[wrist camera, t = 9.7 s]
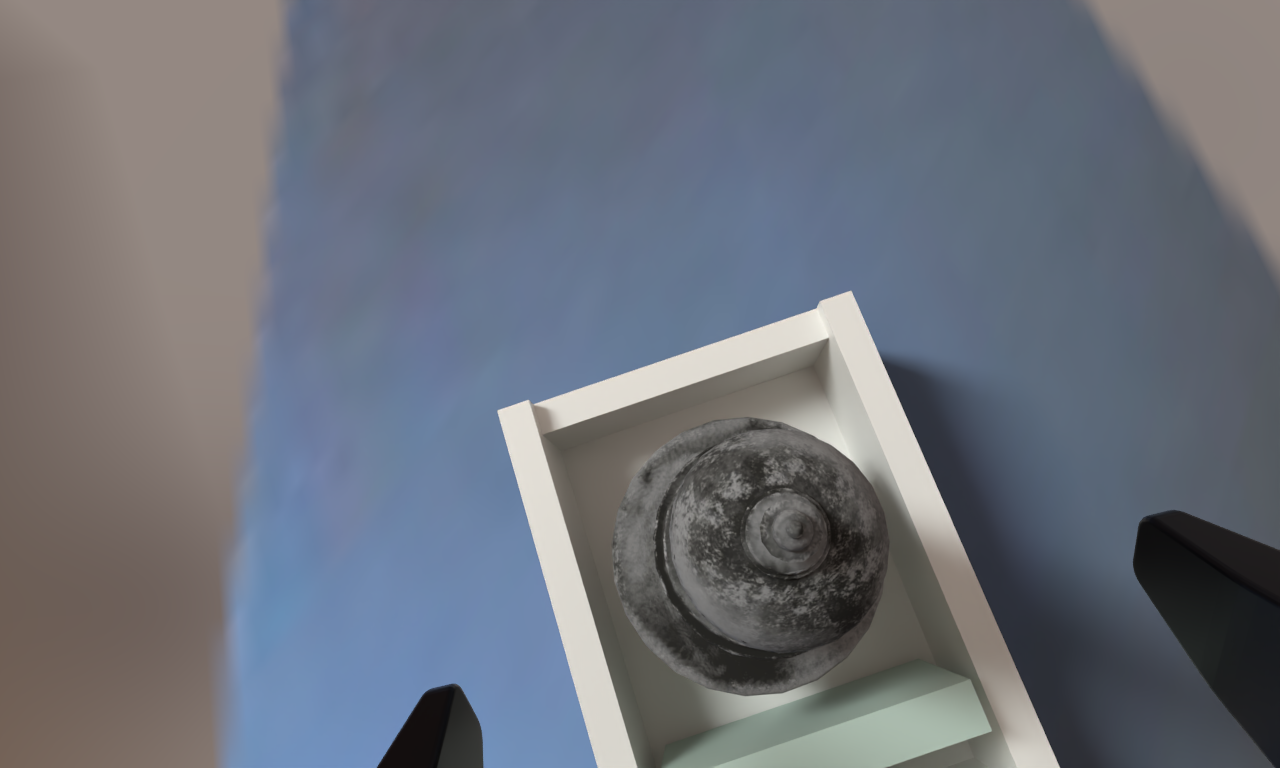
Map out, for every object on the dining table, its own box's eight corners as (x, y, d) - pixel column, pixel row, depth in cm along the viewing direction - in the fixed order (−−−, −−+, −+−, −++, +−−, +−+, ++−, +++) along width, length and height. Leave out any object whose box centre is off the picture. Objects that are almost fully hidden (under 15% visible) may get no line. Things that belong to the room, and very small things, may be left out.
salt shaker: (779, 405, 20) (886, 181, 9) (897, 604, 19) (1220, 659, 7) (589, 506, 20) (434, 416, 8) (693, 716, 18) (681, 964, 7)
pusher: (935, 700, 18) (992, 731, 14) (678, 788, 18) (673, 840, 14) (918, 658, 18) (970, 678, 15) (665, 745, 18) (657, 785, 15)
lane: (1003, 770, 18) (1111, 841, 14) (664, 886, 18) (651, 998, 14) (823, 341, 22) (860, 274, 17) (533, 439, 21) (485, 401, 17)
